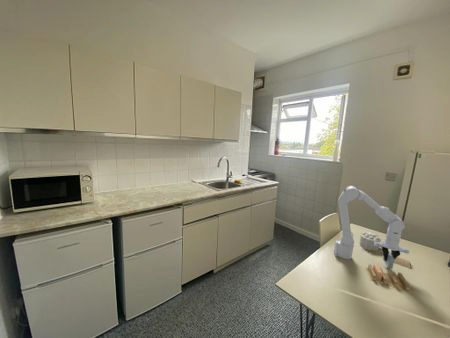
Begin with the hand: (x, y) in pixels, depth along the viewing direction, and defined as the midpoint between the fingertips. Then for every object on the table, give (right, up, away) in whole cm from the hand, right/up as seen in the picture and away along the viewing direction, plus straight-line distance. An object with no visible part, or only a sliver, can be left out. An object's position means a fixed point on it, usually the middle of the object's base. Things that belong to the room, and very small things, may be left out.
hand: (388, 261), depth 103 cm
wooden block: (-11, -5, -6) cm, 14 cm away
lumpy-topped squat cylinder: (+9, -2, +25) cm, 27 cm away
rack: (-8, -6, -8) cm, 13 cm away
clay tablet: (+14, -6, +9) cm, 17 cm away
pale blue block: (0, -2, 0) cm, 2 cm away
